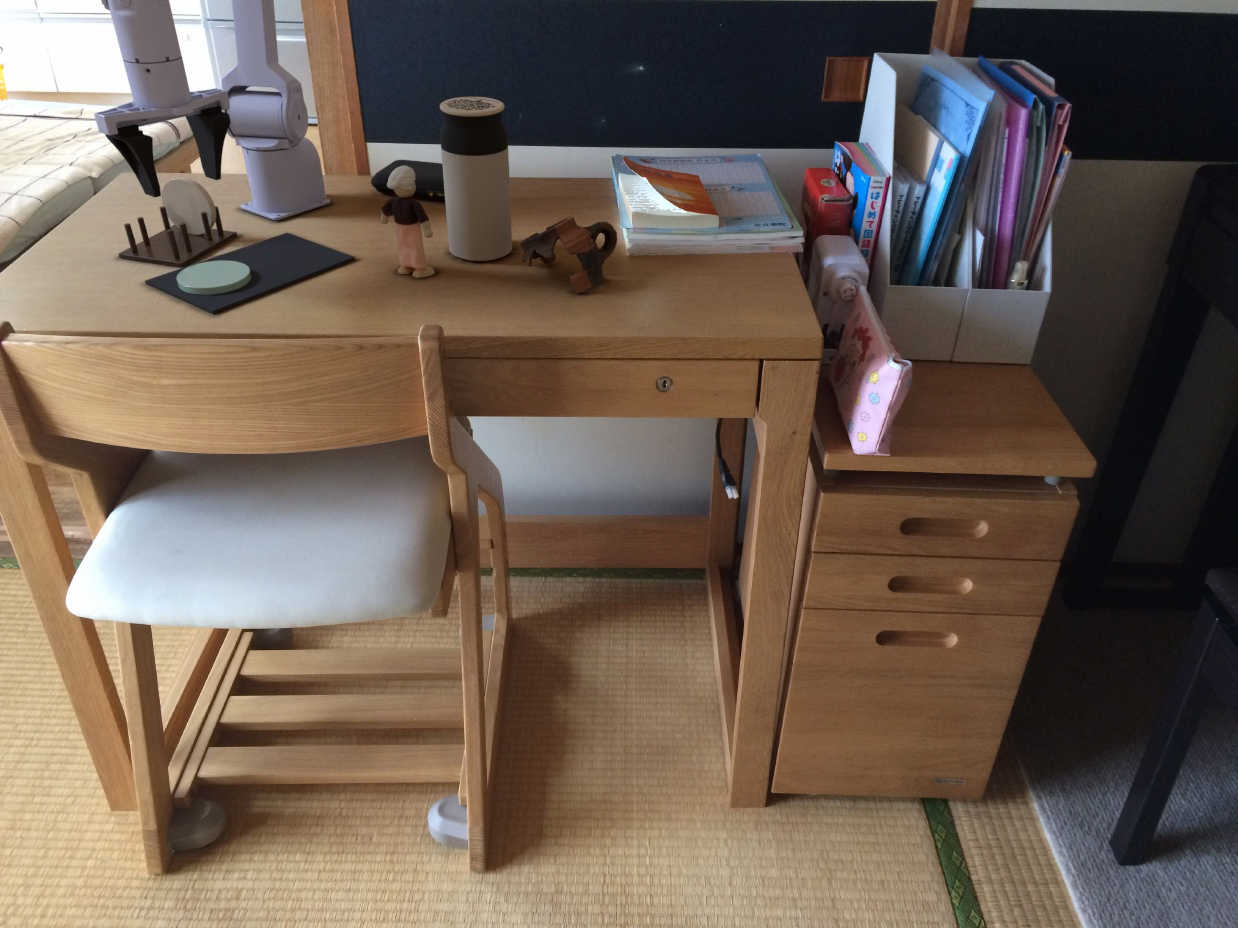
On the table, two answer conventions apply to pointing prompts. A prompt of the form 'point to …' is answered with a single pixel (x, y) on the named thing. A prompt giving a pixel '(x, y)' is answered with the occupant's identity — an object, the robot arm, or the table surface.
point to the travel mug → (476, 178)
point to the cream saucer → (188, 204)
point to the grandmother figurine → (408, 222)
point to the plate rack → (175, 242)
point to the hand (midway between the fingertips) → (184, 186)
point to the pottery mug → (574, 249)
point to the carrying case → (426, 178)
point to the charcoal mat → (260, 270)
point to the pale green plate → (214, 277)
